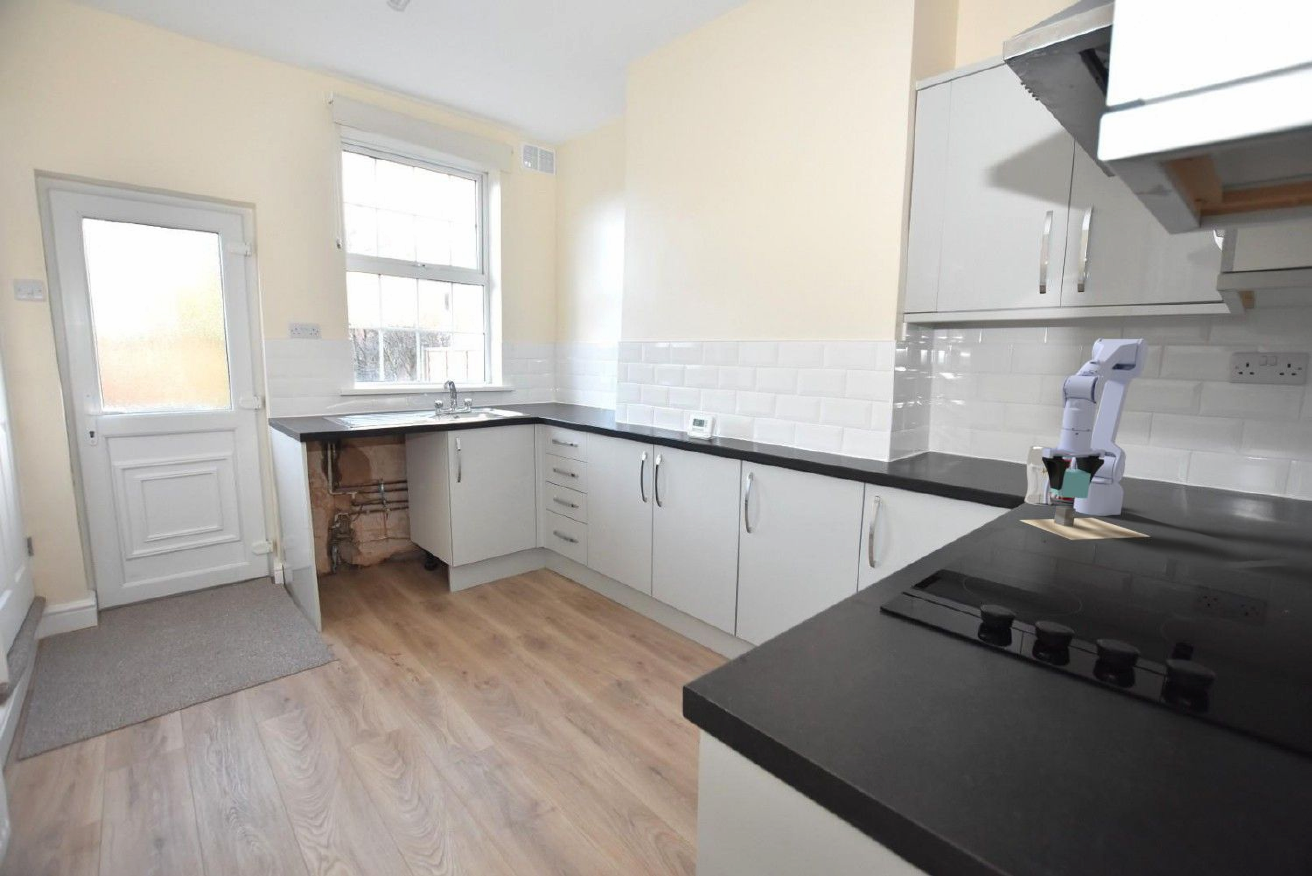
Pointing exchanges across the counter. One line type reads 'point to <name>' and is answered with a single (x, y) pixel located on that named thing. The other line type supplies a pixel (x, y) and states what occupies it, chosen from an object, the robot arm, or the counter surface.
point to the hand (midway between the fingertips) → (1068, 488)
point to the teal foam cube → (1074, 484)
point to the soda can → (1059, 498)
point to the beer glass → (1037, 479)
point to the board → (1081, 526)
